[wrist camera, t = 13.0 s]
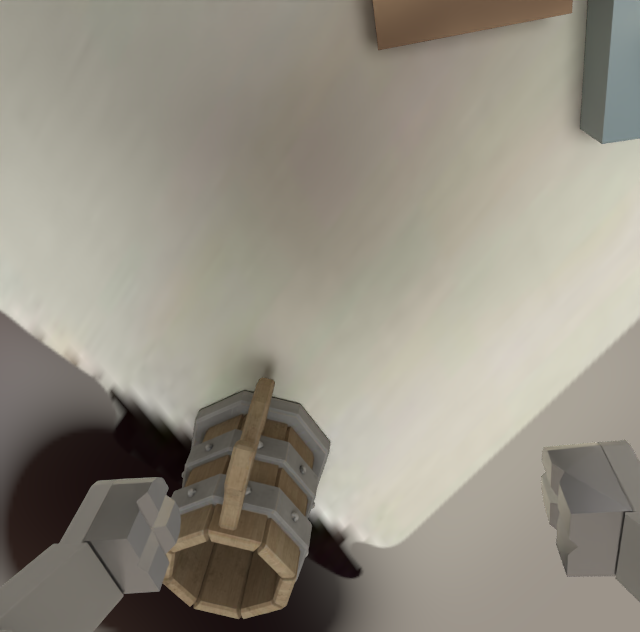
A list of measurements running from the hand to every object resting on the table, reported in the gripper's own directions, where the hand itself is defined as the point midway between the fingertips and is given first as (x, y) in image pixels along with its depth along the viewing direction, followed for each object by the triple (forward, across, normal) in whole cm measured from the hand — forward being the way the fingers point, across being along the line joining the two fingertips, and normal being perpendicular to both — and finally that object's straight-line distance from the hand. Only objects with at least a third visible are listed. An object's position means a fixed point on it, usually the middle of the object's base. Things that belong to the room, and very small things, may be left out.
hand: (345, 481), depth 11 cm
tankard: (+29, +13, +23) cm, 39 cm away
